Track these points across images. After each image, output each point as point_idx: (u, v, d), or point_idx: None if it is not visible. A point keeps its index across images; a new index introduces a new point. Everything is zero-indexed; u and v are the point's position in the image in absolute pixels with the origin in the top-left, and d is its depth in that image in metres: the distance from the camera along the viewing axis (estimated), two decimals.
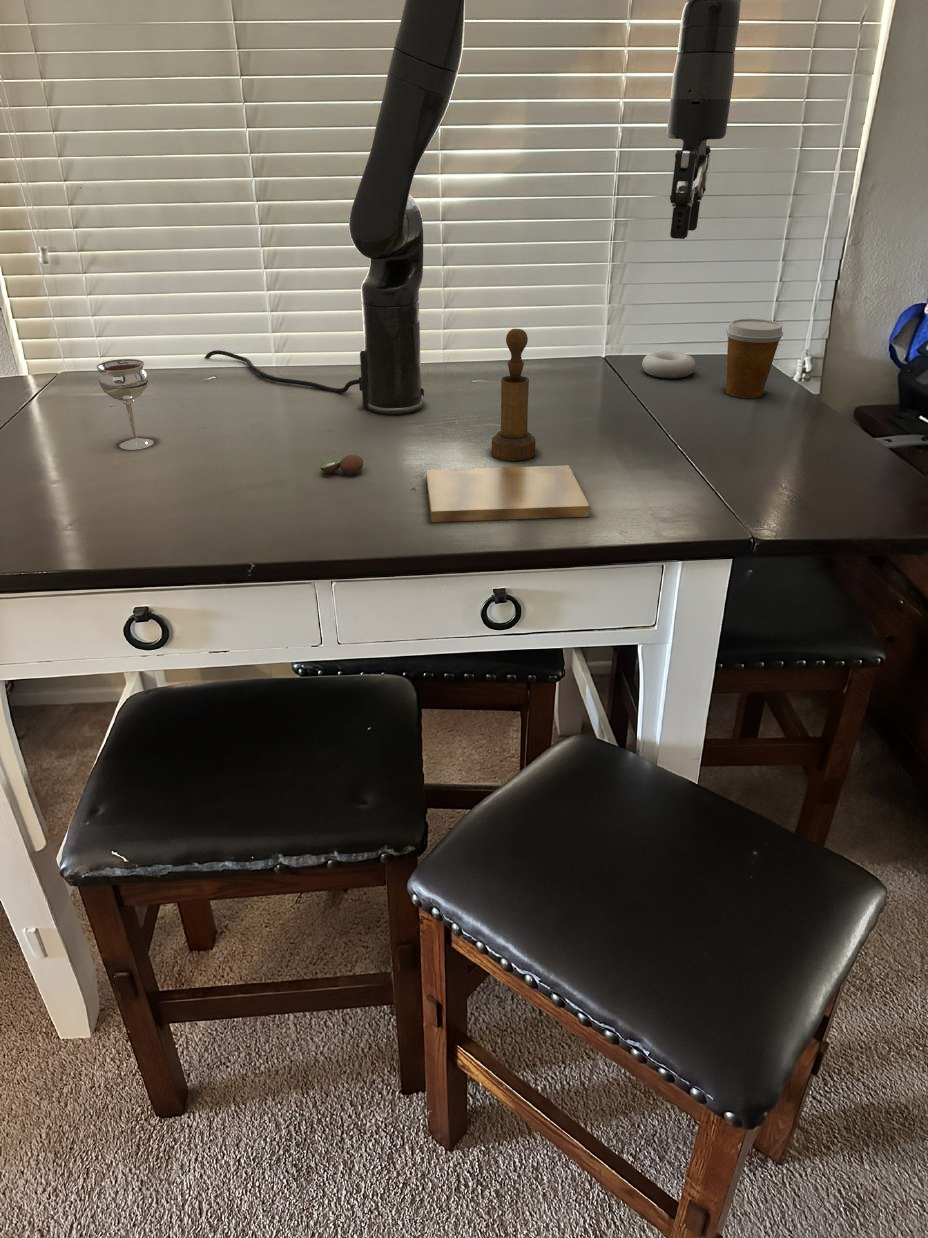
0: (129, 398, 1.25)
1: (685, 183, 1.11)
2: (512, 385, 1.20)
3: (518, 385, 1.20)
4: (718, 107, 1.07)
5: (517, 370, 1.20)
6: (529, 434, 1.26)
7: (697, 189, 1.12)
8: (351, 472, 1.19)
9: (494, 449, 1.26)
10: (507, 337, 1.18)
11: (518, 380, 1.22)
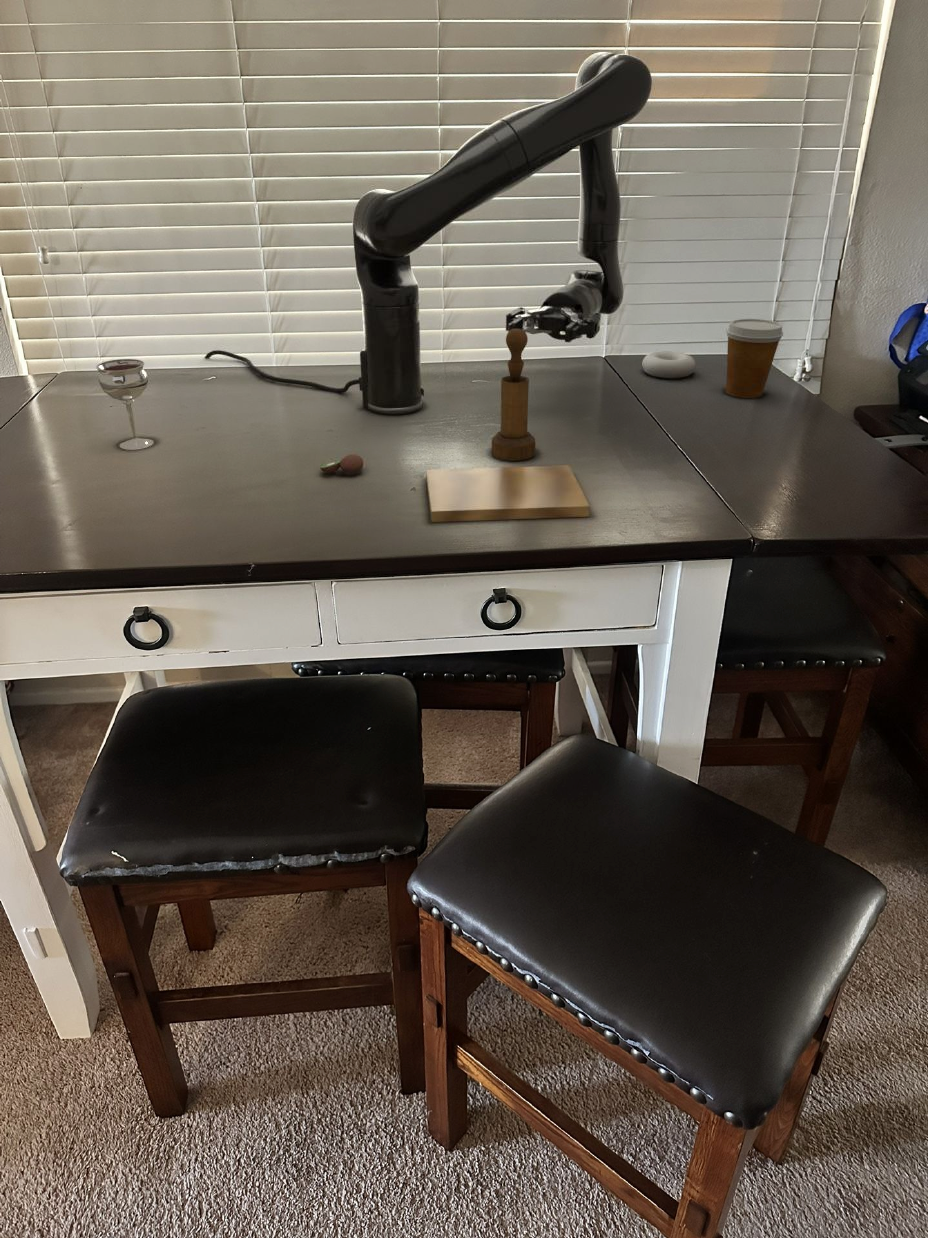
0: (129, 398, 1.25)
1: None
2: (512, 385, 1.20)
3: (517, 385, 1.20)
4: None
5: (517, 370, 1.20)
6: (529, 434, 1.26)
7: None
8: (351, 472, 1.19)
9: (494, 449, 1.26)
10: (507, 337, 1.18)
11: (518, 380, 1.22)
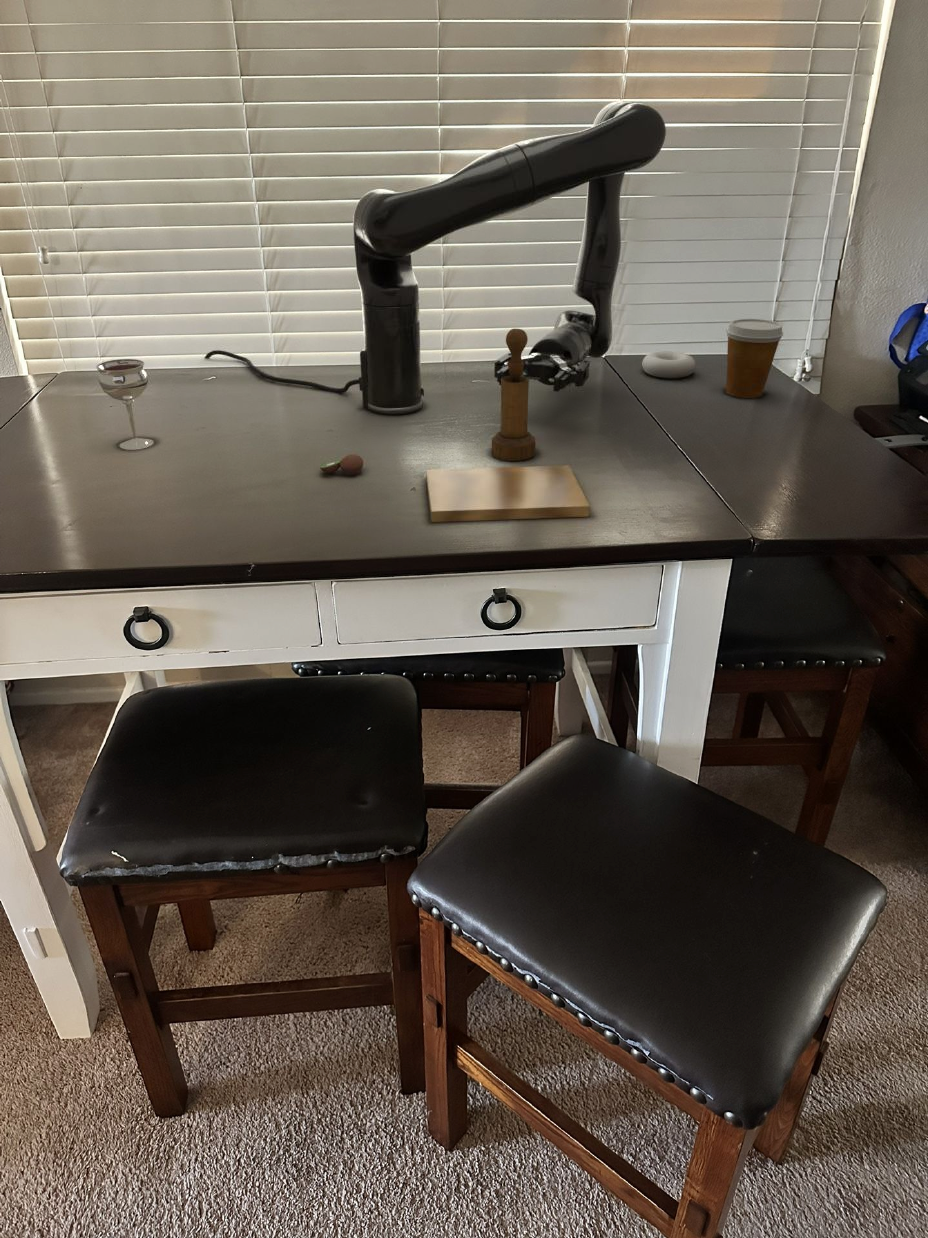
0: (129, 398, 1.25)
1: None
2: (512, 385, 1.20)
3: (517, 385, 1.20)
4: None
5: (517, 370, 1.20)
6: (529, 434, 1.26)
7: None
8: (351, 472, 1.19)
9: (494, 449, 1.26)
10: (507, 337, 1.18)
11: (518, 380, 1.22)
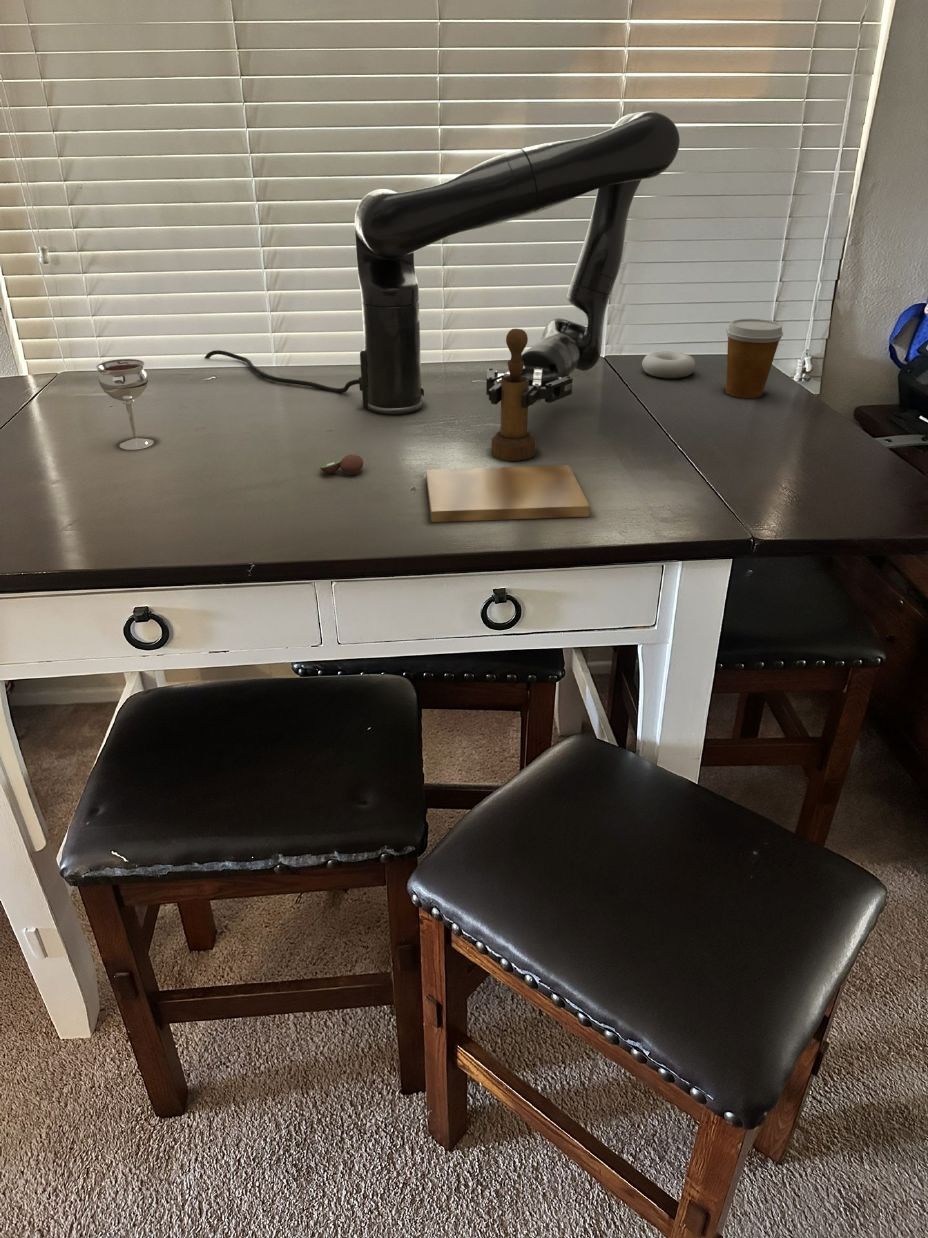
0: (129, 398, 1.25)
1: None
2: (512, 385, 1.20)
3: (518, 385, 1.20)
4: None
5: (517, 370, 1.20)
6: (529, 434, 1.26)
7: None
8: (351, 472, 1.19)
9: (494, 449, 1.26)
10: (507, 337, 1.18)
11: (518, 380, 1.22)
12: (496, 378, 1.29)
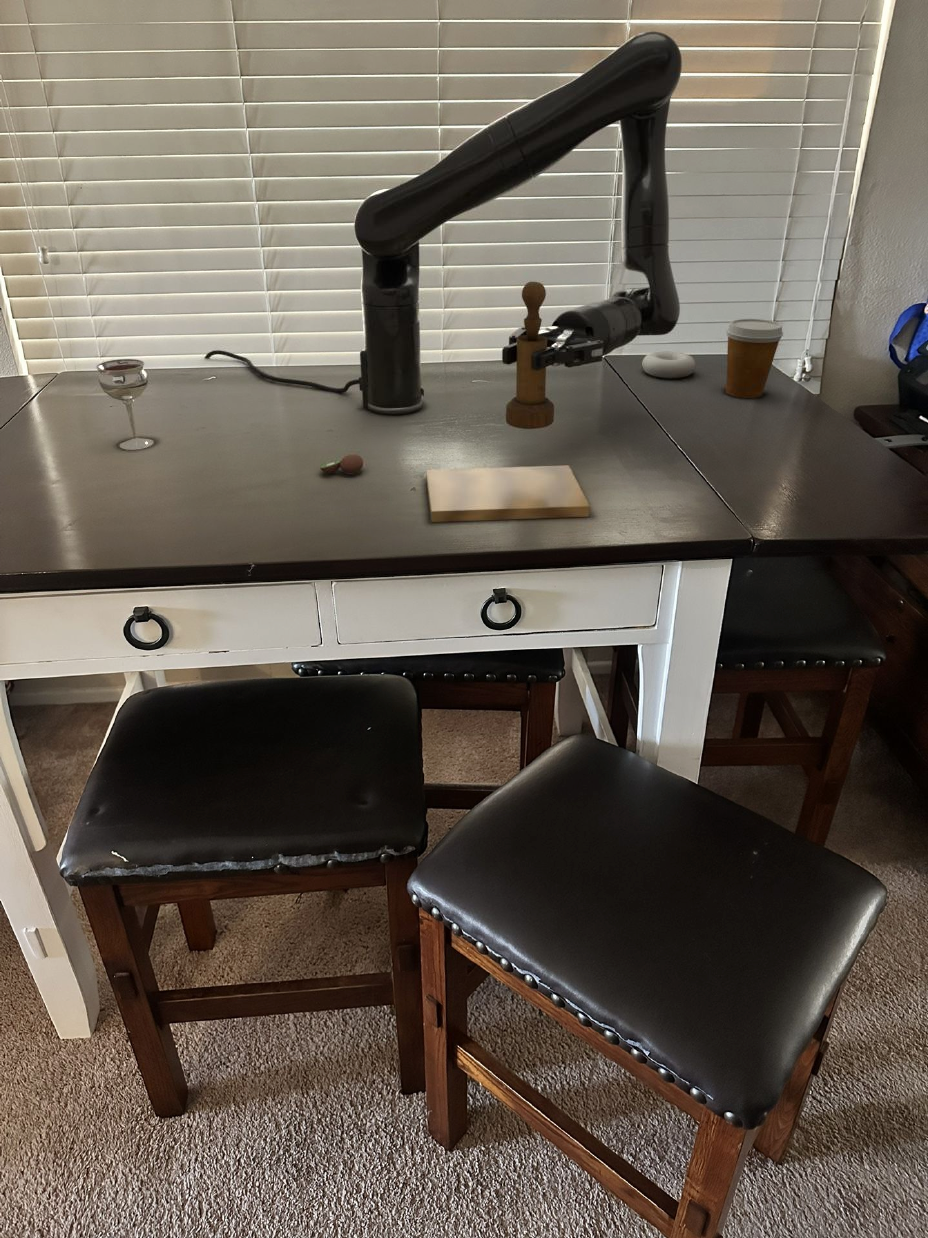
0: (129, 398, 1.25)
1: None
2: (525, 344, 1.10)
3: (530, 345, 1.10)
4: None
5: (532, 328, 1.09)
6: (547, 401, 1.15)
7: None
8: (351, 472, 1.19)
9: (506, 414, 1.16)
10: (522, 290, 1.08)
11: (534, 340, 1.11)
12: None
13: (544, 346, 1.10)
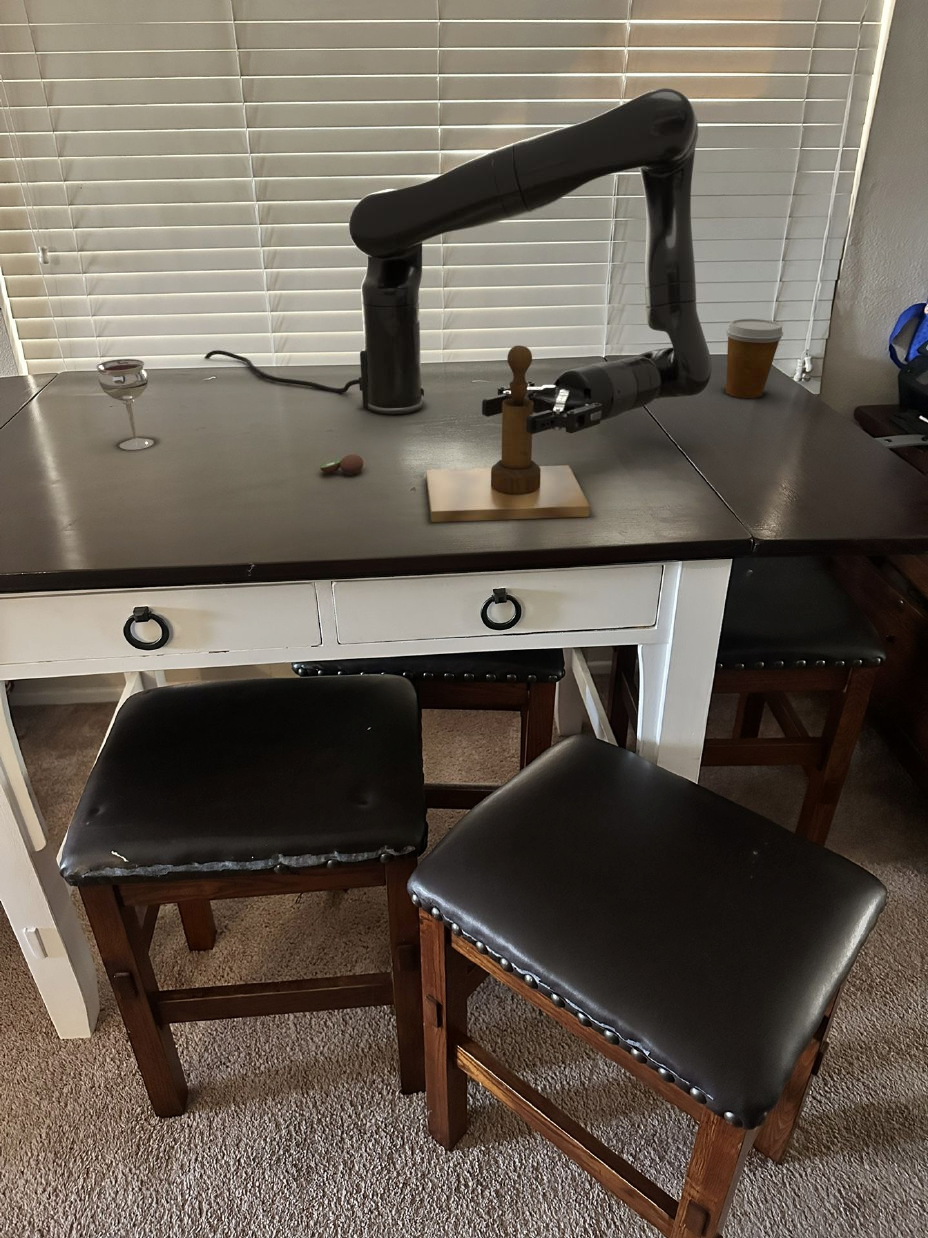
0: (129, 398, 1.25)
1: None
2: (507, 408, 1.07)
3: (513, 409, 1.06)
4: (601, 419, 1.15)
5: (516, 393, 1.06)
6: (531, 467, 1.11)
7: None
8: (351, 472, 1.19)
9: None
10: (508, 354, 1.05)
11: (519, 404, 1.07)
12: None
13: (528, 411, 1.07)
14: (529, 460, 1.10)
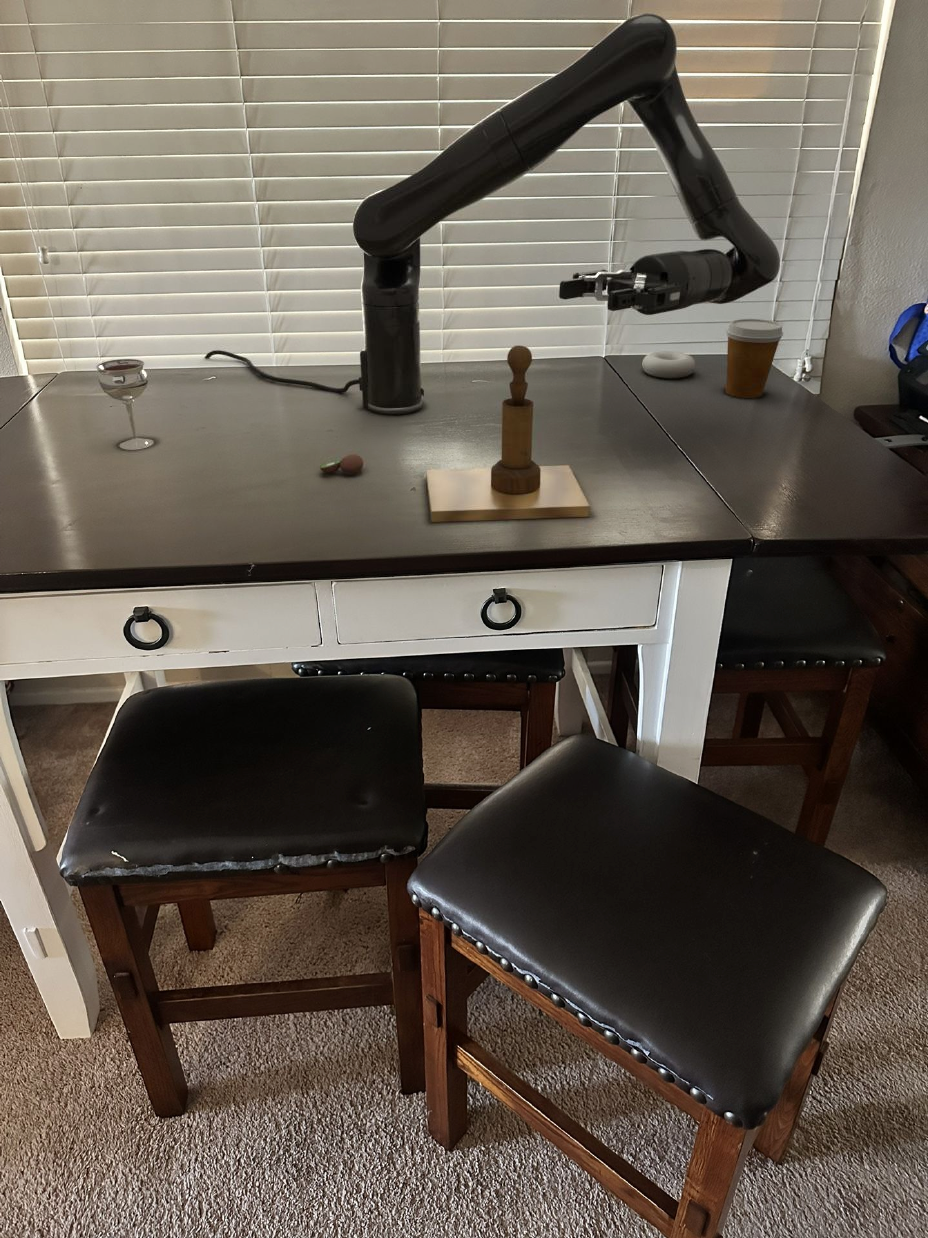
0: (129, 398, 1.25)
1: None
2: (507, 408, 1.07)
3: (513, 409, 1.06)
4: (674, 307, 1.15)
5: (516, 393, 1.06)
6: (531, 467, 1.11)
7: None
8: (351, 472, 1.20)
9: None
10: (508, 354, 1.05)
11: (519, 404, 1.07)
12: None
13: (528, 411, 1.07)
14: (529, 460, 1.10)
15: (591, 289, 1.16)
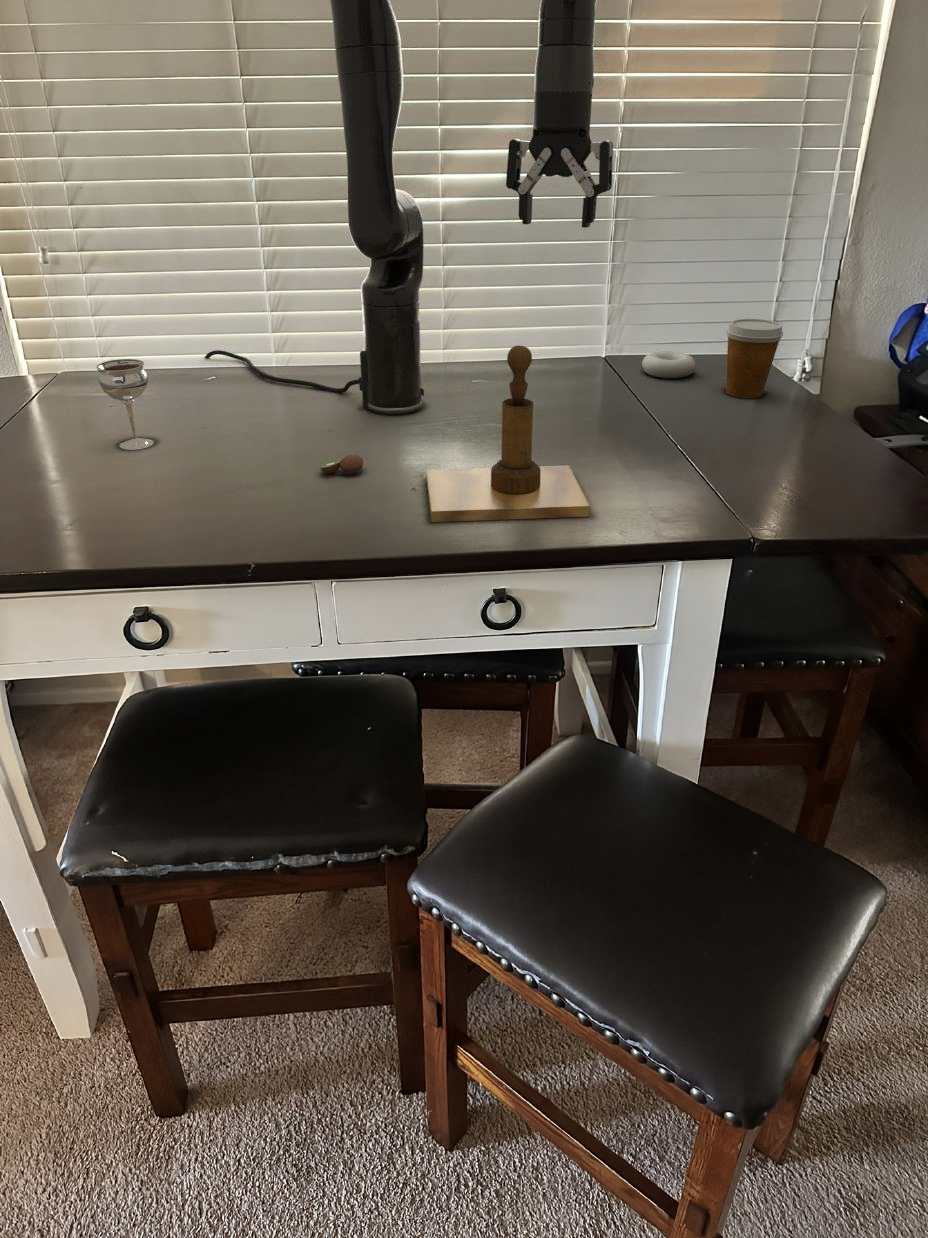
0: (129, 398, 1.25)
1: (587, 173, 1.15)
2: (507, 408, 1.07)
3: (512, 409, 1.06)
4: None
5: (516, 393, 1.06)
6: (531, 467, 1.11)
7: None
8: (351, 472, 1.20)
9: None
10: (508, 354, 1.05)
11: (519, 404, 1.07)
12: (520, 157, 1.16)
13: (528, 411, 1.07)
14: (529, 460, 1.10)
15: (520, 164, 1.18)
